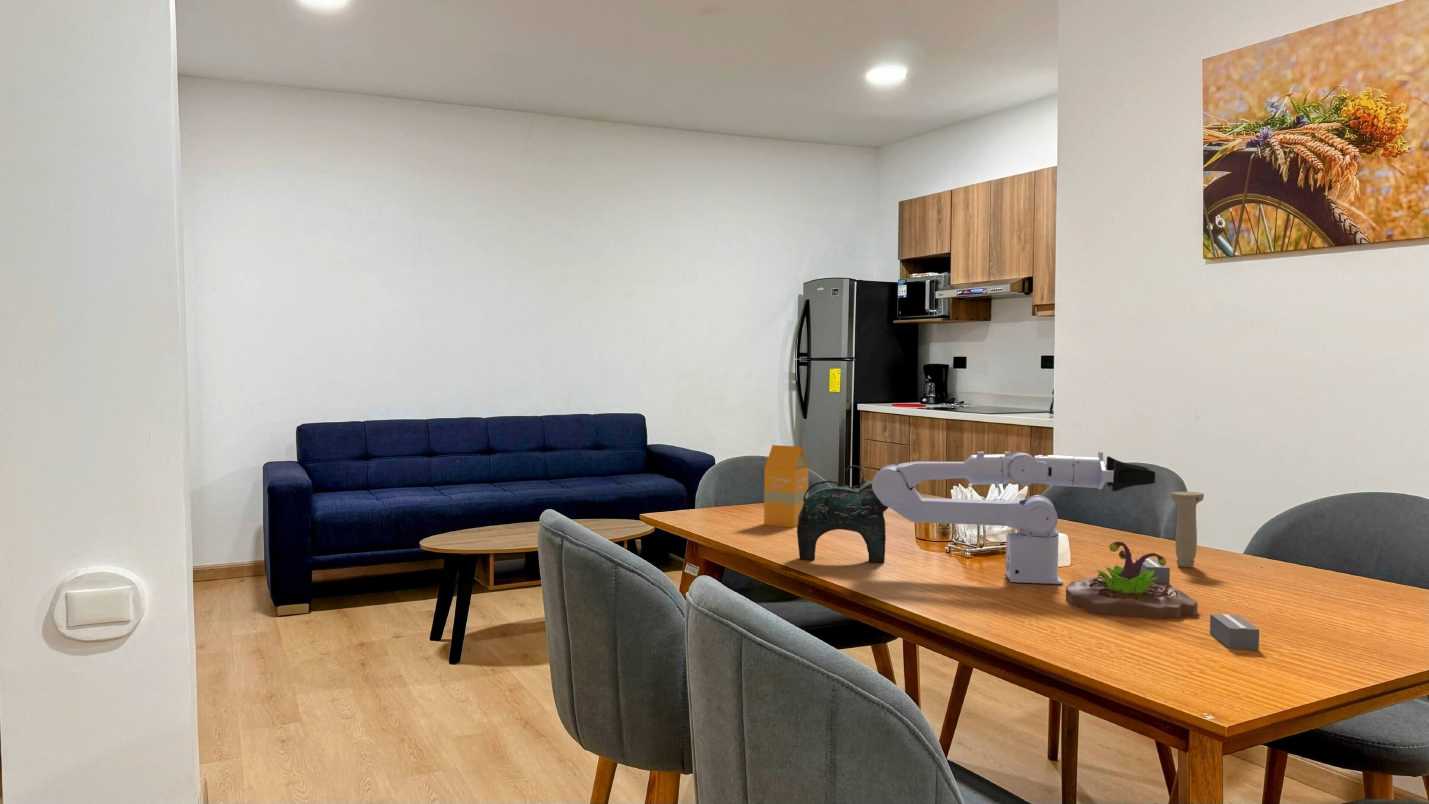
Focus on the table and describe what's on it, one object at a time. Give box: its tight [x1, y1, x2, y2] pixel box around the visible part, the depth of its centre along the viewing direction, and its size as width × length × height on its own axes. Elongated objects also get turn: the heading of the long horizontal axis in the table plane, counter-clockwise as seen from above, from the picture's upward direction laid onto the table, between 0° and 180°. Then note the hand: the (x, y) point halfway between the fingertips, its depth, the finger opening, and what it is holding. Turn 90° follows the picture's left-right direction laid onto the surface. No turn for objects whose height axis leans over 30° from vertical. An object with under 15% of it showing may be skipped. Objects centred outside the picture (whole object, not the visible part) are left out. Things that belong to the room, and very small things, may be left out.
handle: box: [1170, 491, 1205, 569], centre depth 194 cm, size 5×6×15 cm
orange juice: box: [763, 444, 810, 528], centre depth 244 cm, size 8×9×20 cm
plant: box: [1065, 541, 1198, 620], centre depth 164 cm, size 20×20×11 cm
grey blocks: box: [1135, 558, 1260, 651], centre depth 163 cm, size 4×50×3 cm, turn 171°
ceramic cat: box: [796, 464, 889, 564], centre depth 199 cm, size 20×6×20 cm, turn 80°
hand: (1151, 475), depth 176 cm, fingers open, 7 cm apart
